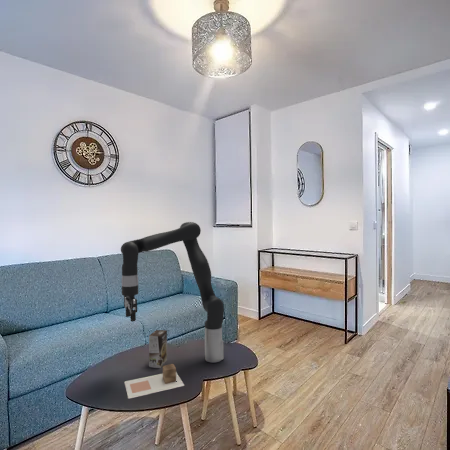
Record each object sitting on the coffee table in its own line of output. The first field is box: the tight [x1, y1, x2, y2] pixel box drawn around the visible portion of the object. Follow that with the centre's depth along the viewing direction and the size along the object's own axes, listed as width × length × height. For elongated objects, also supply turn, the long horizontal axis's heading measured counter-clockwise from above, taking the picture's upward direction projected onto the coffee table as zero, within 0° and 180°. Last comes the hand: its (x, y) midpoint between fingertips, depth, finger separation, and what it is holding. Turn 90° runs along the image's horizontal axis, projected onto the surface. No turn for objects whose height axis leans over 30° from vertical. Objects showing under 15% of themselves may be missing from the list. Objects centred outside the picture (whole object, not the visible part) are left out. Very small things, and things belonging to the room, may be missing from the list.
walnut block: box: [162, 363, 177, 384], centre depth 138 cm, size 5×5×6 cm
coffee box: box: [148, 329, 168, 369], centre depth 155 cm, size 9×6×16 cm
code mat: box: [124, 371, 185, 399], centre depth 135 cm, size 24×15×1 cm, turn 115°
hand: (130, 318), depth 141 cm, fingers open, 8 cm apart
